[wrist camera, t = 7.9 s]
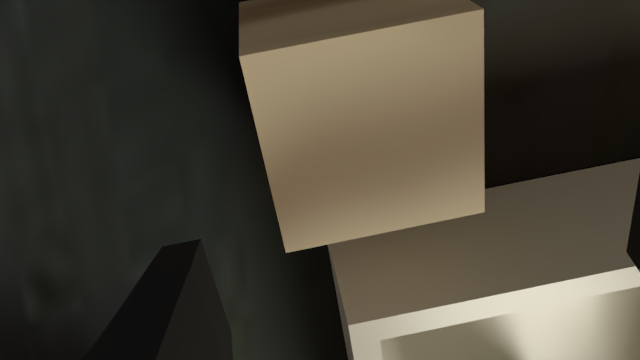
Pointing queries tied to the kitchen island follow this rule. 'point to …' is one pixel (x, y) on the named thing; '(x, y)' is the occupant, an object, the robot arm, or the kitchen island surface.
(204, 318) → the robot arm
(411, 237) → the box
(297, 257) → the kitchen island surface
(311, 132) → the oak cube
